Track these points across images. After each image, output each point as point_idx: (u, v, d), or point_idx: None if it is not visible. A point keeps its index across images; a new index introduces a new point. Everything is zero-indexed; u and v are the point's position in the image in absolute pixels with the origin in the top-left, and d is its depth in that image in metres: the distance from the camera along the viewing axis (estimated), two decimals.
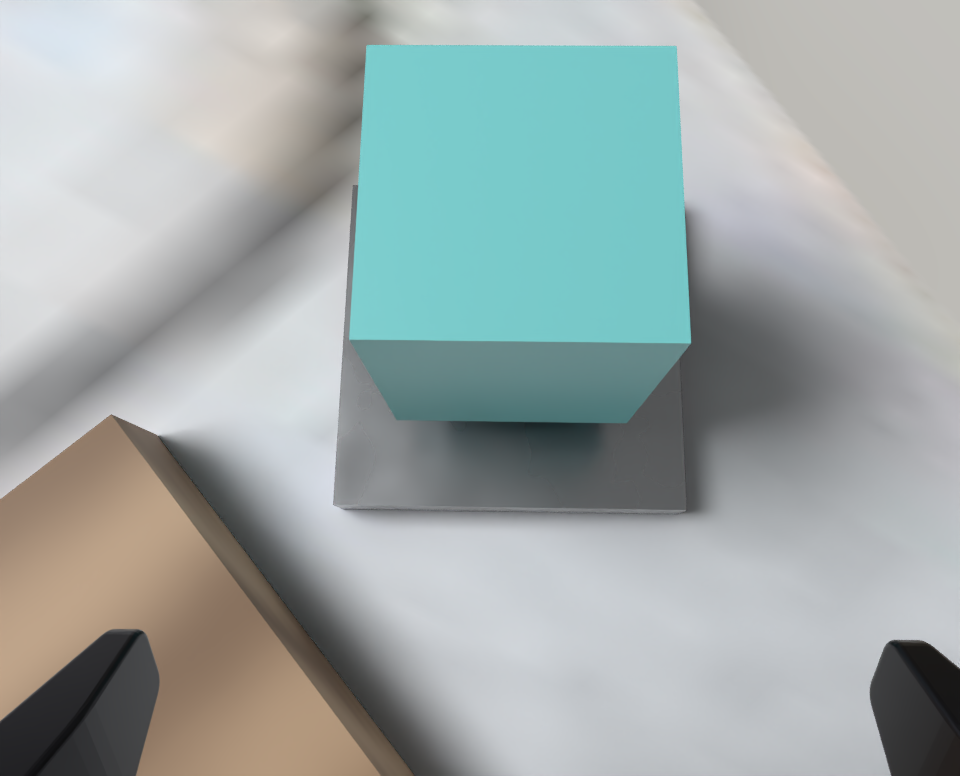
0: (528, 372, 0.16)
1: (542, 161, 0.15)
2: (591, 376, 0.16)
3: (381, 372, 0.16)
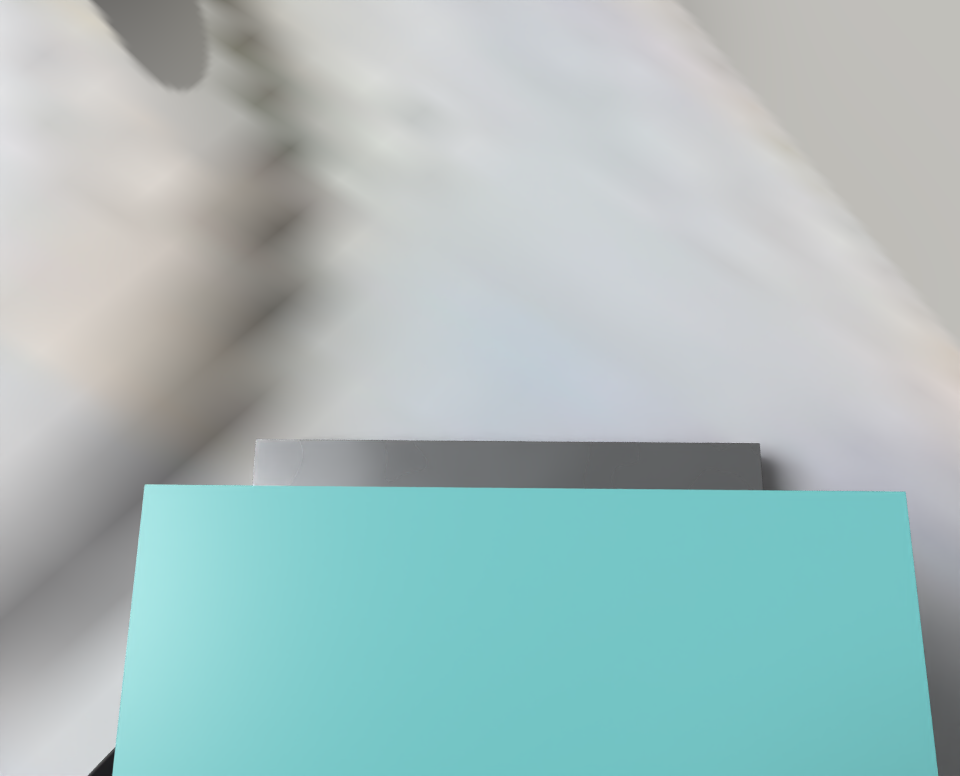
0: None
1: None
2: None
3: None
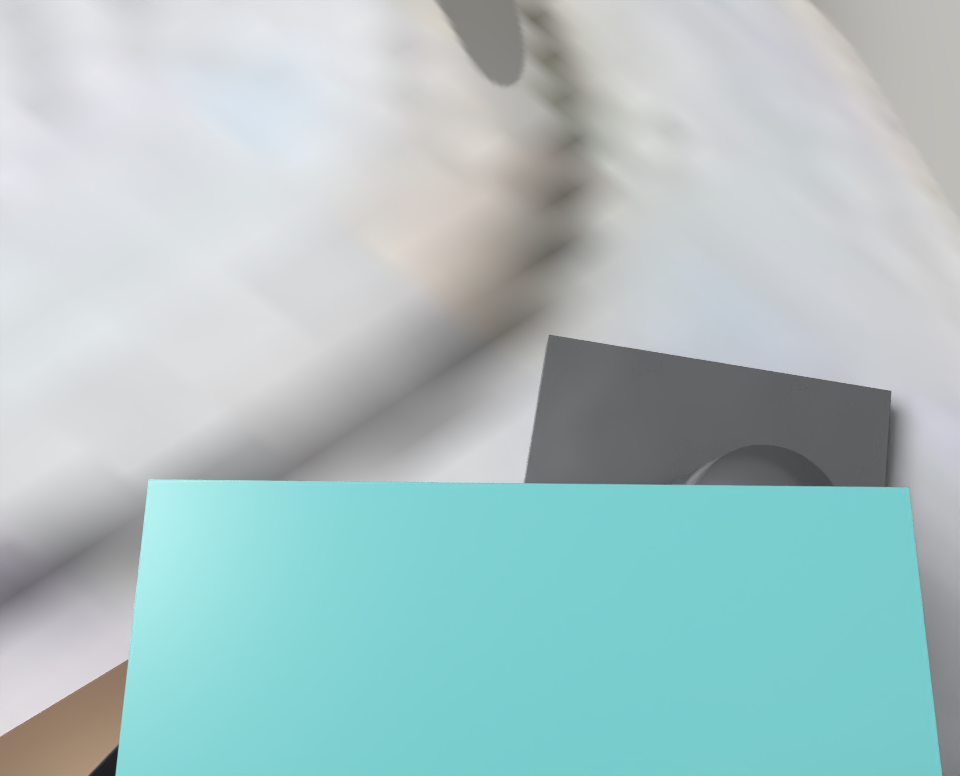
0: None
1: None
2: None
3: None
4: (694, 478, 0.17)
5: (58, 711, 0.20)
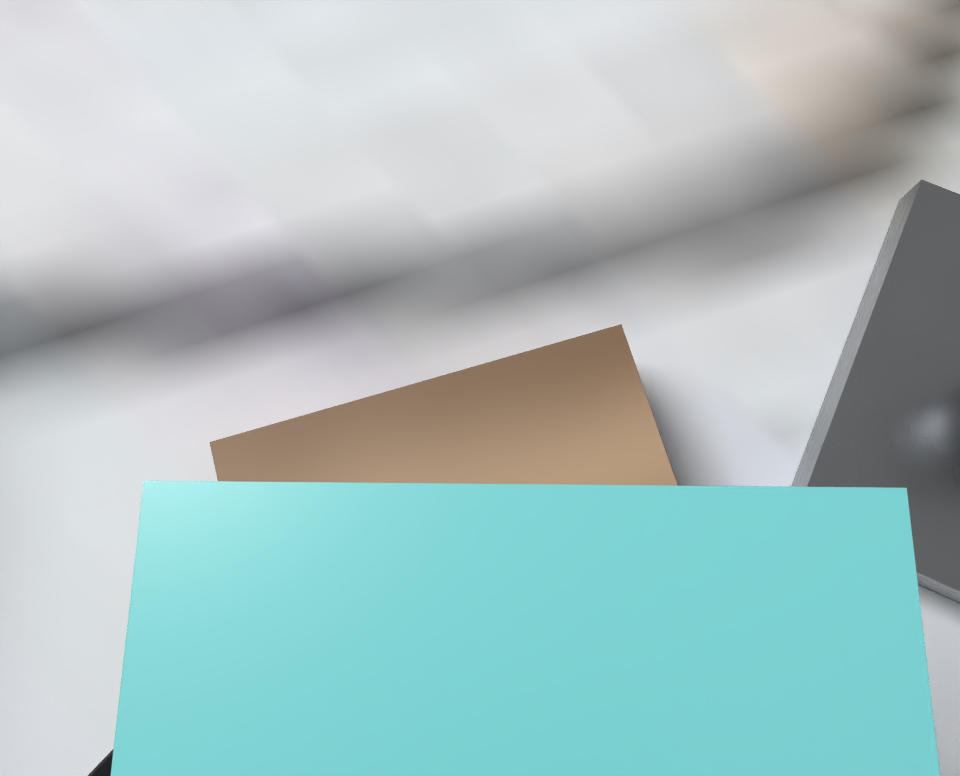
0: None
1: None
2: None
3: None
4: None
5: (361, 407, 0.18)
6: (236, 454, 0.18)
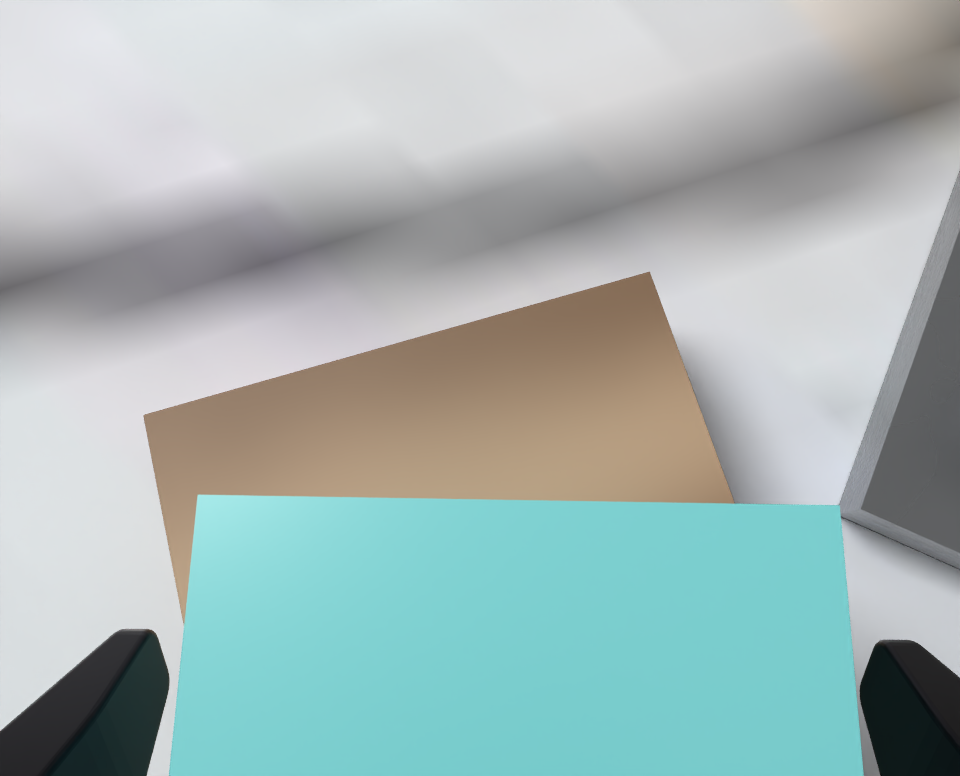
0: None
1: None
2: None
3: None
4: None
5: (331, 372, 0.15)
6: (175, 429, 0.15)
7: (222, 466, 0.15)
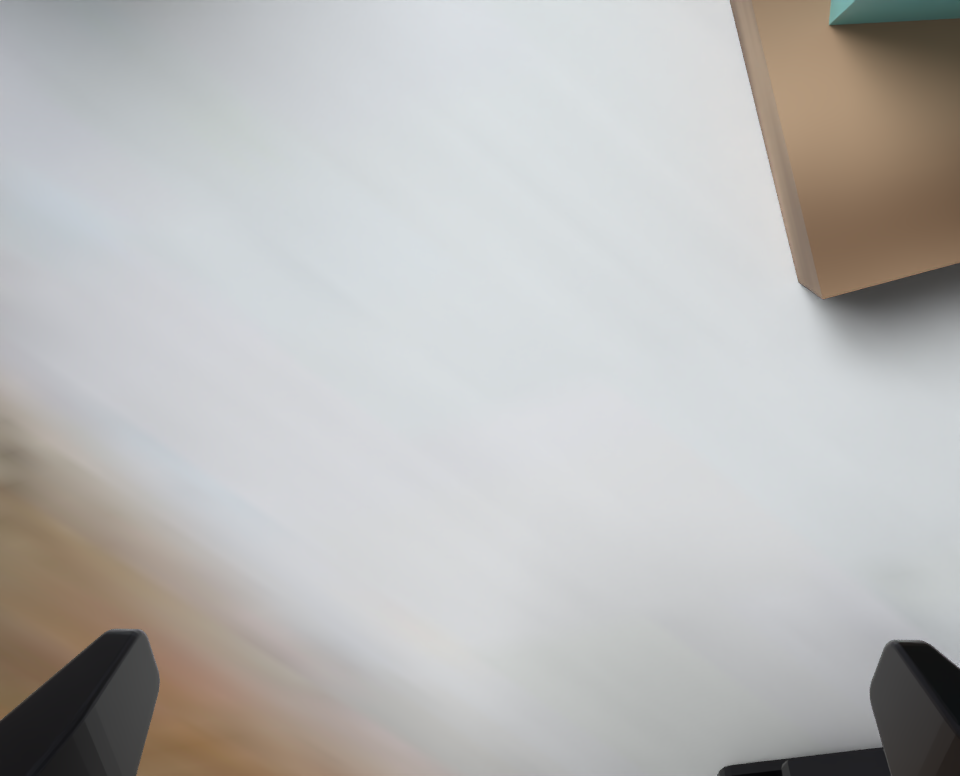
0: None
1: None
2: None
3: None
4: None
5: None
6: None
7: None
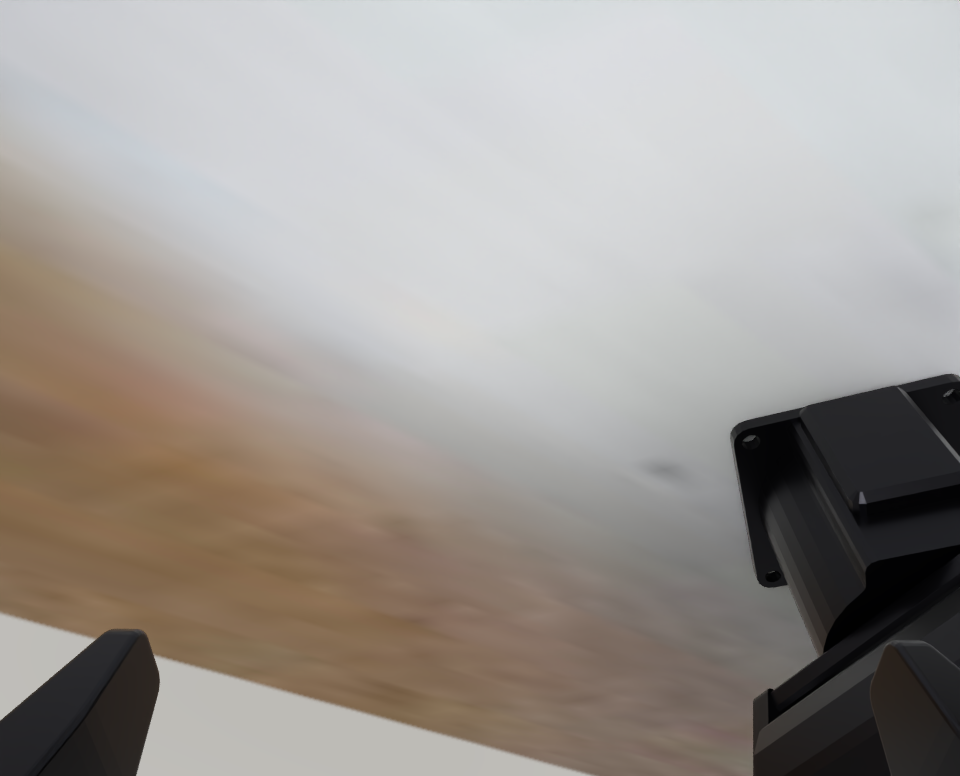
0: None
1: None
2: None
3: None
4: None
5: None
6: None
7: None
